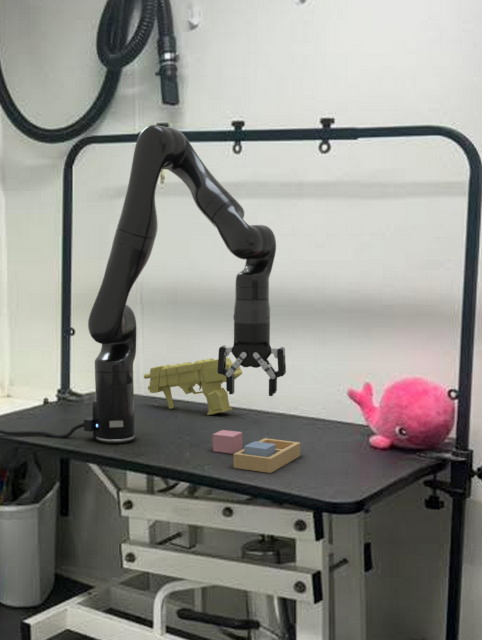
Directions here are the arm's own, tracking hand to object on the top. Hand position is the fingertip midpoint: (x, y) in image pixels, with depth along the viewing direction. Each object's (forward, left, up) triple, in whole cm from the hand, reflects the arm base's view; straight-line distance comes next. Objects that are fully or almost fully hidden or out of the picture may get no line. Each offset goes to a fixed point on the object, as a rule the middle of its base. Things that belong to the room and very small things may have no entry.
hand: (251, 394), depth 202 cm
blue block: (+3, -3, -14) cm, 15 cm away
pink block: (-9, +6, -15) cm, 18 cm away
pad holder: (+3, +1, -15) cm, 15 cm away
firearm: (-37, +40, -15) cm, 57 cm away
